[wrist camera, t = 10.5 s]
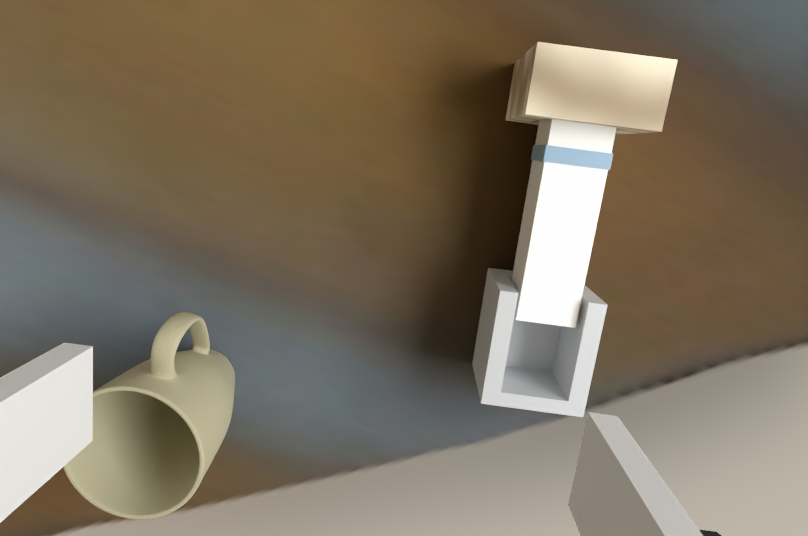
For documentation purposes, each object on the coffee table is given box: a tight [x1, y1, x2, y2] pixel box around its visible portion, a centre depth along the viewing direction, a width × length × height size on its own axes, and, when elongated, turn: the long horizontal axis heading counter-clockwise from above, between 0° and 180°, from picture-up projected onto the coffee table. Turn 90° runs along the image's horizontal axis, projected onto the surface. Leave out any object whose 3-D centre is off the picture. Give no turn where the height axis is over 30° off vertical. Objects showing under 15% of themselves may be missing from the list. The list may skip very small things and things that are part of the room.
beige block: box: [505, 42, 677, 135], centre depth 36 cm, size 4×8×8 cm, turn 83°
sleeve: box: [472, 268, 607, 417], centre depth 40 cm, size 8×7×7 cm
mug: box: [63, 312, 235, 519], centre depth 39 cm, size 11×10×12 cm
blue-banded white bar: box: [511, 118, 616, 328], centre depth 37 cm, size 15×4×4 cm, turn 173°
